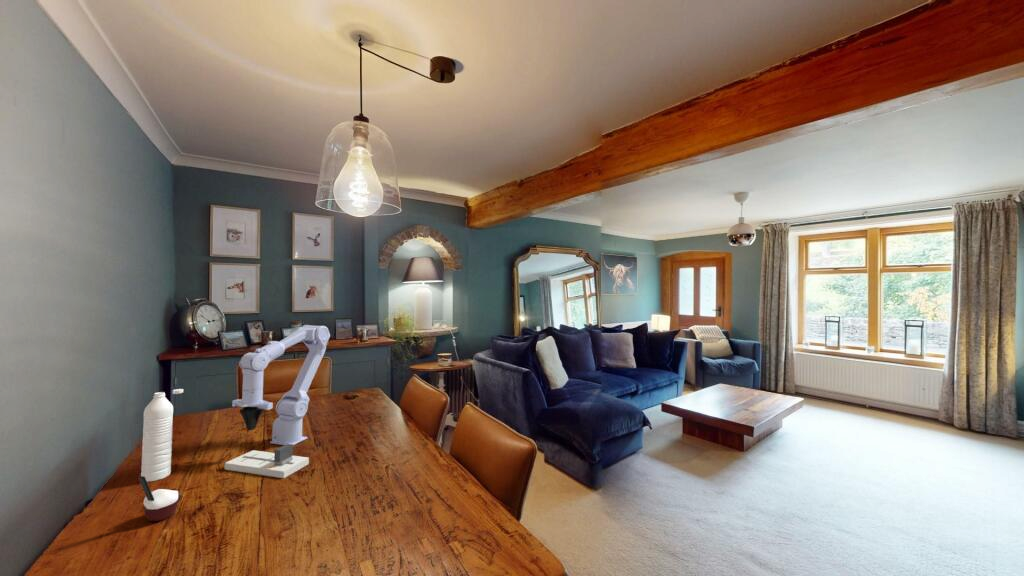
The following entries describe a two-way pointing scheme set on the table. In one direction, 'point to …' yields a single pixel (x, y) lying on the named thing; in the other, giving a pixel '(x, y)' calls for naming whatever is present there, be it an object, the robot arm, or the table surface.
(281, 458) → the fader tab
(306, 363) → the robot arm
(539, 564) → the table surface
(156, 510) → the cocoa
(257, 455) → the fader console
